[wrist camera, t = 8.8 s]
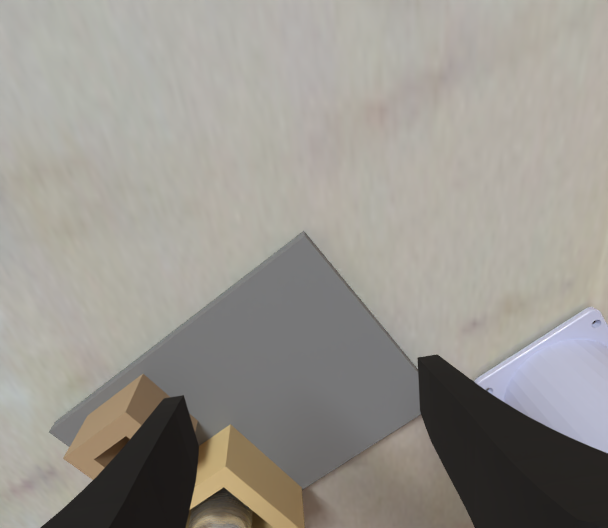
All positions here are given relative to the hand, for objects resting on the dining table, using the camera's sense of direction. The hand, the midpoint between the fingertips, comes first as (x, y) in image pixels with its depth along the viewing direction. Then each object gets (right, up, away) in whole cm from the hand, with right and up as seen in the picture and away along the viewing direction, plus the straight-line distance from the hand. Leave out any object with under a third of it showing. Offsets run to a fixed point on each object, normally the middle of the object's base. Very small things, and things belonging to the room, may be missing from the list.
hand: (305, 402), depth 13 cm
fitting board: (-3, -4, +12) cm, 13 cm away
